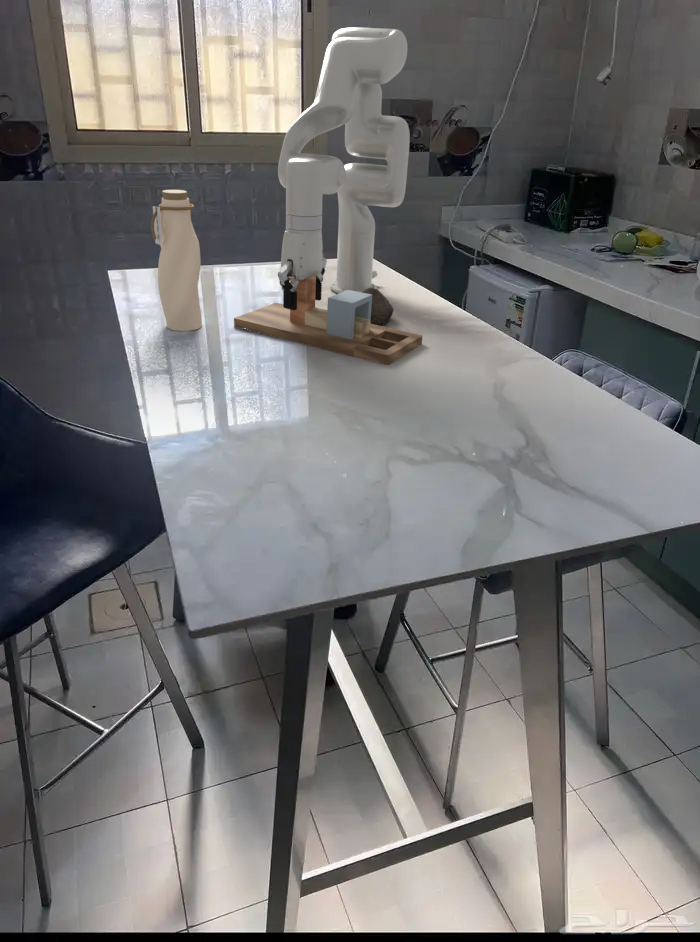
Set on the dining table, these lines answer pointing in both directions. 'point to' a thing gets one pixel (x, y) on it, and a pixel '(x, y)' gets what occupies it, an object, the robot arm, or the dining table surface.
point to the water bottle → (177, 261)
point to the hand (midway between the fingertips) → (302, 303)
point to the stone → (379, 307)
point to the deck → (372, 346)
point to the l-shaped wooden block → (318, 309)
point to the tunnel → (347, 312)
